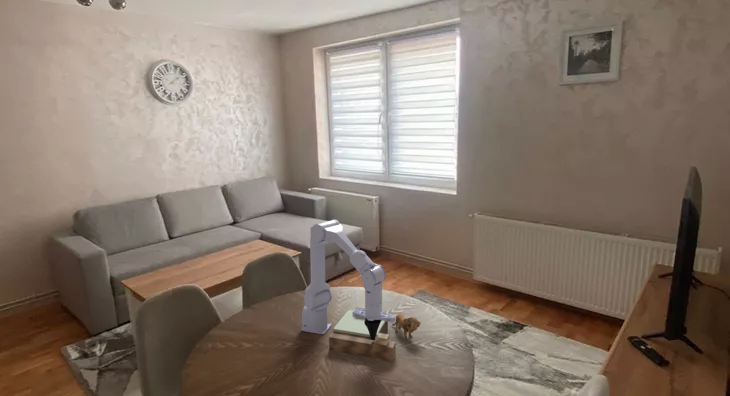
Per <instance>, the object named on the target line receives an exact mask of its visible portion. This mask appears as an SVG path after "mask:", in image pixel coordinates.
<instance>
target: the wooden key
mask: <svg viewBox="0 0 730 396" xmlns="http://www.w3.org/2000/svg"><path fill="white" fill-rule="evenodd" d="M389 341H390V334H389V333H386V334H383V333H377V335H376V337H375V344H380V345H386V346H387V344H388V342H389Z"/></svg>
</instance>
